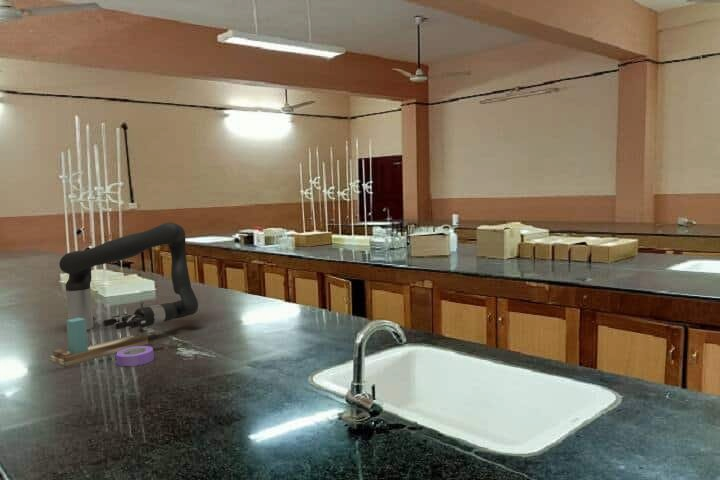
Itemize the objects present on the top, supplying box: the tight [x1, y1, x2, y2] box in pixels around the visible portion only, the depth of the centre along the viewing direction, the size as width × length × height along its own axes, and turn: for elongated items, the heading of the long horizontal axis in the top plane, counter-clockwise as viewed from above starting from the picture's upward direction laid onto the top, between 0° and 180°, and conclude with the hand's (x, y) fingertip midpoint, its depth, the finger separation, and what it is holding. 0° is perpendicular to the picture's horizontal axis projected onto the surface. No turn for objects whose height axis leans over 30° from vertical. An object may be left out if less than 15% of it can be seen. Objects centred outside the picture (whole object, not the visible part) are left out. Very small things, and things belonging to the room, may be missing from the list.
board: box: [49, 335, 149, 367], centre depth 195 cm, size 12×30×4 cm, turn 143°
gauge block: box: [65, 318, 89, 355], centre depth 188 cm, size 4×4×12 cm
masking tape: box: [115, 345, 155, 367], centre depth 184 cm, size 12×12×4 cm
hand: (109, 325), depth 198 cm, fingers open, 8 cm apart
